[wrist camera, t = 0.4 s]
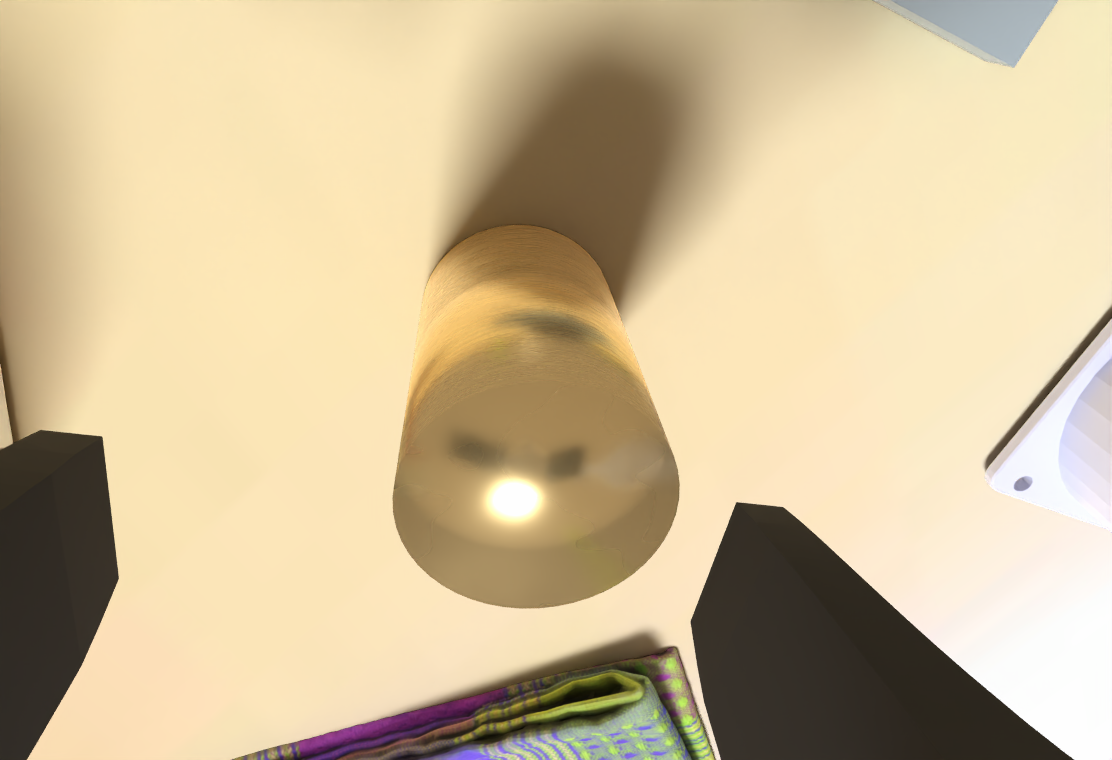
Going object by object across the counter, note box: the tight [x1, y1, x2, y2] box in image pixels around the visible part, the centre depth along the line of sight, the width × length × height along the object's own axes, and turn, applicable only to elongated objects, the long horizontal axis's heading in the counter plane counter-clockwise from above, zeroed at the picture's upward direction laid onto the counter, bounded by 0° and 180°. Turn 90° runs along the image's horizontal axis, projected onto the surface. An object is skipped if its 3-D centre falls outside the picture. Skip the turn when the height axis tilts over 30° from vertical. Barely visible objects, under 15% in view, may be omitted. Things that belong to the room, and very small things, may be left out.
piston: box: [393, 225, 680, 608], centre depth 15 cm, size 4×4×7 cm
